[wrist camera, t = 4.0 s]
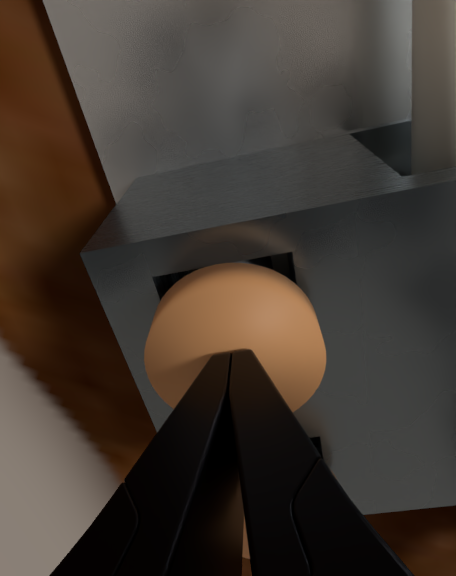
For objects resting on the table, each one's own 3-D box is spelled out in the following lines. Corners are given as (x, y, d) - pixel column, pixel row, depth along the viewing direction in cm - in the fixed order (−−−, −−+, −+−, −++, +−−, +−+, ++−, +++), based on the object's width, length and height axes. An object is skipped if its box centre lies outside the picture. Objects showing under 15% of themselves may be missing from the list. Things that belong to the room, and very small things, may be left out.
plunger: (306, 309, 13) (334, 416, 9) (190, 328, 14) (172, 436, 10) (289, 194, 11) (315, 270, 8) (156, 221, 12) (118, 305, 8)
